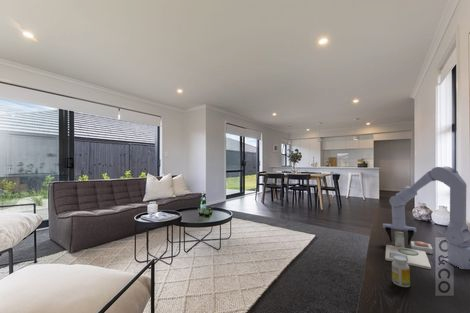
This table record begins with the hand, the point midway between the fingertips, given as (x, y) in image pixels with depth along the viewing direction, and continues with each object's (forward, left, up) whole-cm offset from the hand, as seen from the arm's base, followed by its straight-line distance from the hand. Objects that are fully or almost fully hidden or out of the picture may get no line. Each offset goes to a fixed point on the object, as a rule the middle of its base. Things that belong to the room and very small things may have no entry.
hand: (399, 242), depth 116 cm
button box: (-4, -8, -2) cm, 9 cm away
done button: (-4, -8, 0) cm, 9 cm away
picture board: (-13, +5, -2) cm, 14 cm away
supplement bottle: (-38, +23, -2) cm, 45 cm away
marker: (0, 0, -2) cm, 2 cm away
